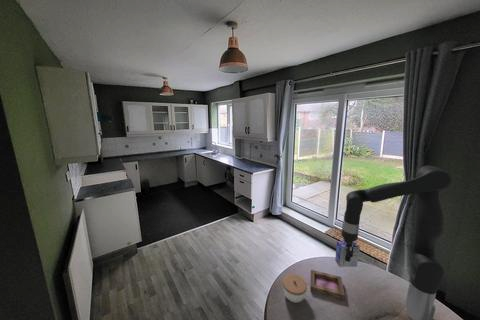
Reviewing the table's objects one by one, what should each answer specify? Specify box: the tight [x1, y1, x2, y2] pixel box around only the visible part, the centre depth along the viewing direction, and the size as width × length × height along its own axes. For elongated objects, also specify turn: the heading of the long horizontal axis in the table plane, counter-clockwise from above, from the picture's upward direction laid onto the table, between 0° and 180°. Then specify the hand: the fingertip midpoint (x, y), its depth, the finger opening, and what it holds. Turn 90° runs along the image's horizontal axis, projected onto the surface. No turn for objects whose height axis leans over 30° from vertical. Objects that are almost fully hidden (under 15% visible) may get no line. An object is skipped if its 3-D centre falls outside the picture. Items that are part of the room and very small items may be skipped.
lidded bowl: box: [282, 273, 308, 304], centre depth 104 cm, size 13×13×11 cm
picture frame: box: [309, 269, 345, 302], centre depth 111 cm, size 17×13×4 cm
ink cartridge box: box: [334, 238, 360, 268], centre depth 103 cm, size 10×6×14 cm, turn 91°
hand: (346, 256), depth 104 cm, fingers closed on ink cartridge box, 6 cm apart
